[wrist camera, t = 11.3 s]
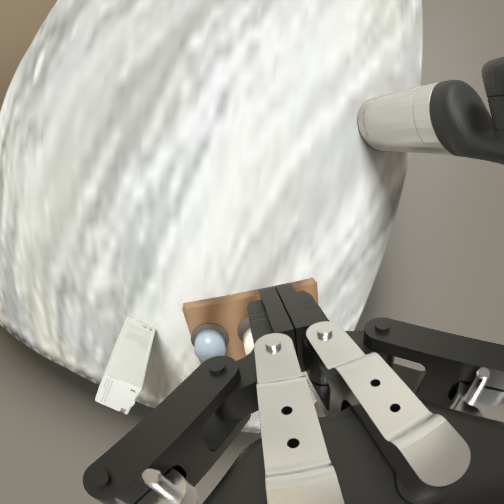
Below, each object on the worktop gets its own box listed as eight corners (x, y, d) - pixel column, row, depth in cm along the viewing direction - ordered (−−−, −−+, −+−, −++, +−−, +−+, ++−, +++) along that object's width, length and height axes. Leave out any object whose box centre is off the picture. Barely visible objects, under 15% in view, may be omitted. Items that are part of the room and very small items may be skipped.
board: (314, 277, 46) (318, 283, 44) (316, 337, 50) (320, 344, 48) (182, 303, 44) (181, 310, 42) (201, 361, 49) (201, 369, 46)
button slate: (221, 325, 44) (222, 336, 41) (227, 348, 45) (228, 359, 42) (191, 330, 43) (190, 341, 40) (199, 352, 45) (198, 364, 42)
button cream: (271, 322, 42) (275, 332, 40) (275, 345, 44) (278, 356, 41) (240, 328, 42) (242, 339, 39) (245, 351, 44) (247, 363, 41)
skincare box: (128, 313, 43) (102, 370, 30) (158, 329, 45) (143, 390, 31) (114, 344, 45) (92, 401, 31) (142, 358, 47) (127, 417, 33)
